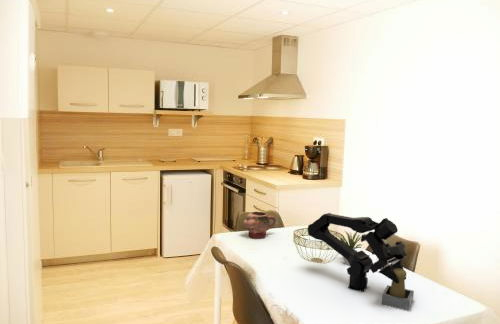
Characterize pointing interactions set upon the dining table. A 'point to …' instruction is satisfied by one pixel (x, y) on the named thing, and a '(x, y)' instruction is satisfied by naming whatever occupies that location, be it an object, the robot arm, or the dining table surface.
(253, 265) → the dining table surface
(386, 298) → the square metal tray
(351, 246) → the house plant
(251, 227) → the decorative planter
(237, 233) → the dining table surface
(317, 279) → the dining table surface
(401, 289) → the cork
